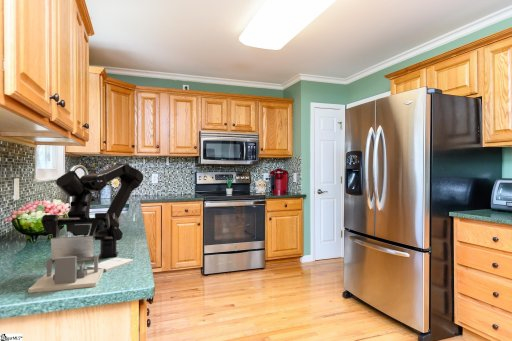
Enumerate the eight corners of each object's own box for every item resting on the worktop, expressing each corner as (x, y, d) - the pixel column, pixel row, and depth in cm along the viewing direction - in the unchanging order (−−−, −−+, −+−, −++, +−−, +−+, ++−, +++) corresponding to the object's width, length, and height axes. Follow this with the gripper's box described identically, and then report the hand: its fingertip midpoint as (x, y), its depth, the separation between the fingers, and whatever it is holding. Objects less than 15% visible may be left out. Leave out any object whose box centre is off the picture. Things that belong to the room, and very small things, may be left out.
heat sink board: (46, 276, 96) (46, 250, 96) (103, 271, 101) (103, 246, 101) (28, 293, 83) (28, 262, 83) (95, 286, 88) (95, 257, 88)
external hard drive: (86, 271, 103) (115, 261, 115) (106, 274, 101) (133, 263, 112) (86, 266, 103) (115, 256, 115) (106, 268, 101) (133, 258, 112)
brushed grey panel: (53, 261, 95) (51, 237, 93) (93, 258, 98) (92, 235, 97) (52, 263, 94) (50, 239, 92) (93, 260, 97) (92, 236, 96)
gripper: (113, 218, 114) (108, 256, 104) (54, 220, 109) (43, 260, 98) (110, 198, 107) (104, 236, 96) (47, 199, 101) (33, 240, 91)
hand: (72, 244), depth 96 cm, fingers open, 9 cm apart
